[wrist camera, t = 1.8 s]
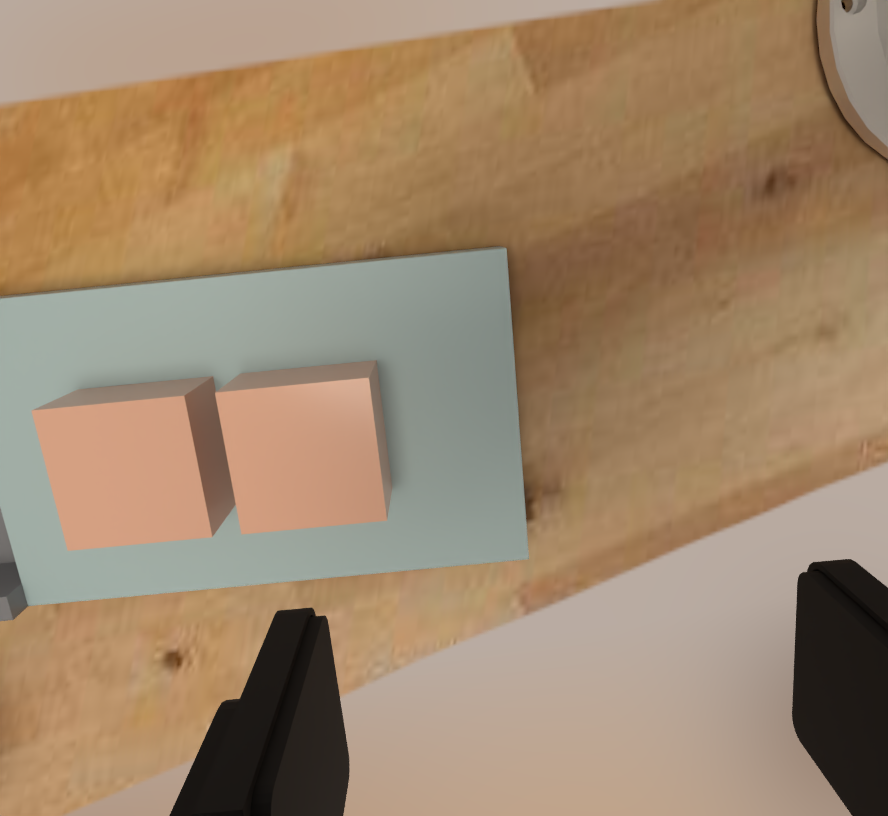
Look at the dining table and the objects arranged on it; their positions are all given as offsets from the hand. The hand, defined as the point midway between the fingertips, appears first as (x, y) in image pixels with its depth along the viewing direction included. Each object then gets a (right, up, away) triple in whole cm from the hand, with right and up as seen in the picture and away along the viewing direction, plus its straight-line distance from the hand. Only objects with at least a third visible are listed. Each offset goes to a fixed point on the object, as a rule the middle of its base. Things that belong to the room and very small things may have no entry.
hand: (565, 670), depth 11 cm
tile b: (-13, +3, +15) cm, 20 cm away
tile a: (-7, +3, +15) cm, 17 cm away
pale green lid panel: (-9, +4, +17) cm, 20 cm away
